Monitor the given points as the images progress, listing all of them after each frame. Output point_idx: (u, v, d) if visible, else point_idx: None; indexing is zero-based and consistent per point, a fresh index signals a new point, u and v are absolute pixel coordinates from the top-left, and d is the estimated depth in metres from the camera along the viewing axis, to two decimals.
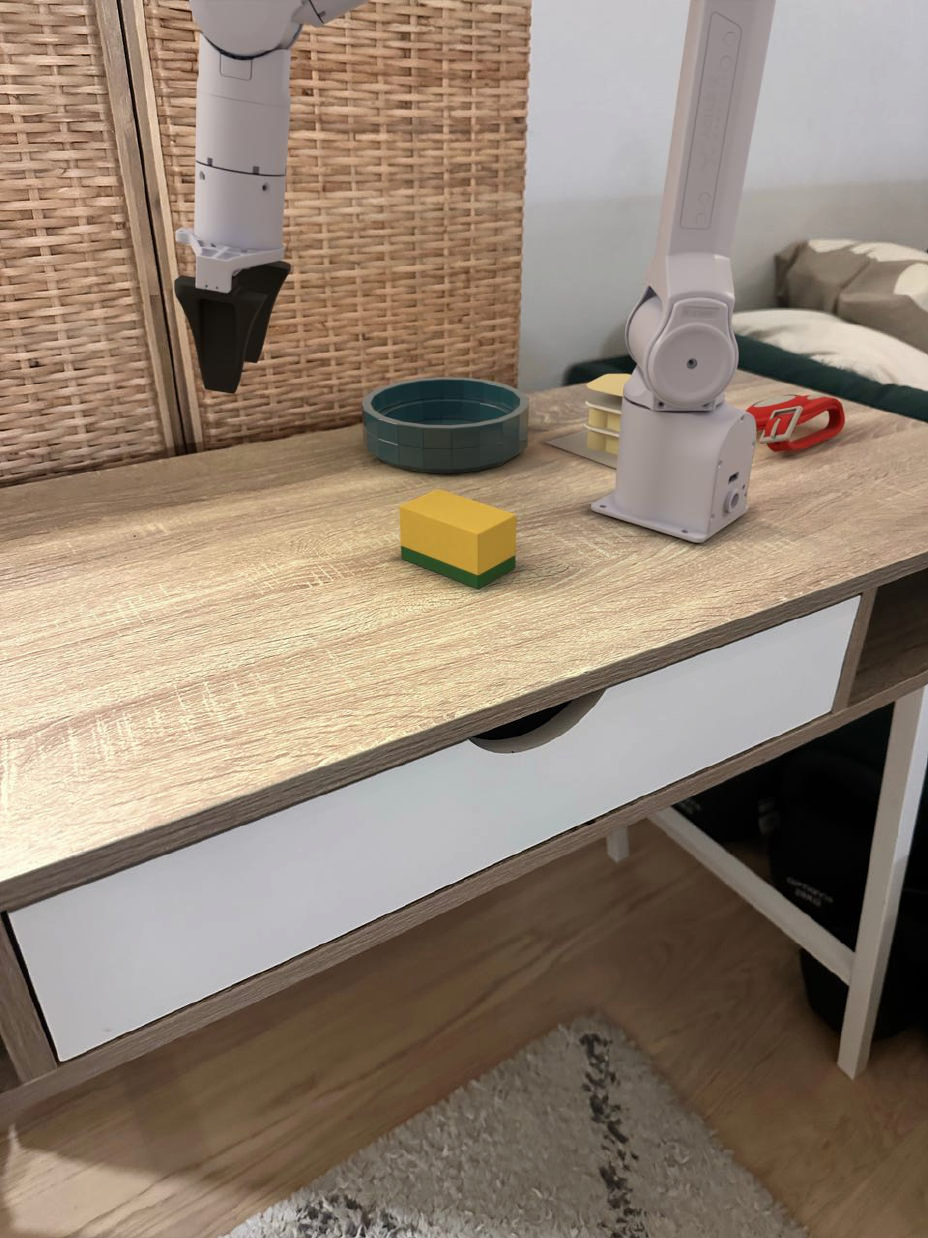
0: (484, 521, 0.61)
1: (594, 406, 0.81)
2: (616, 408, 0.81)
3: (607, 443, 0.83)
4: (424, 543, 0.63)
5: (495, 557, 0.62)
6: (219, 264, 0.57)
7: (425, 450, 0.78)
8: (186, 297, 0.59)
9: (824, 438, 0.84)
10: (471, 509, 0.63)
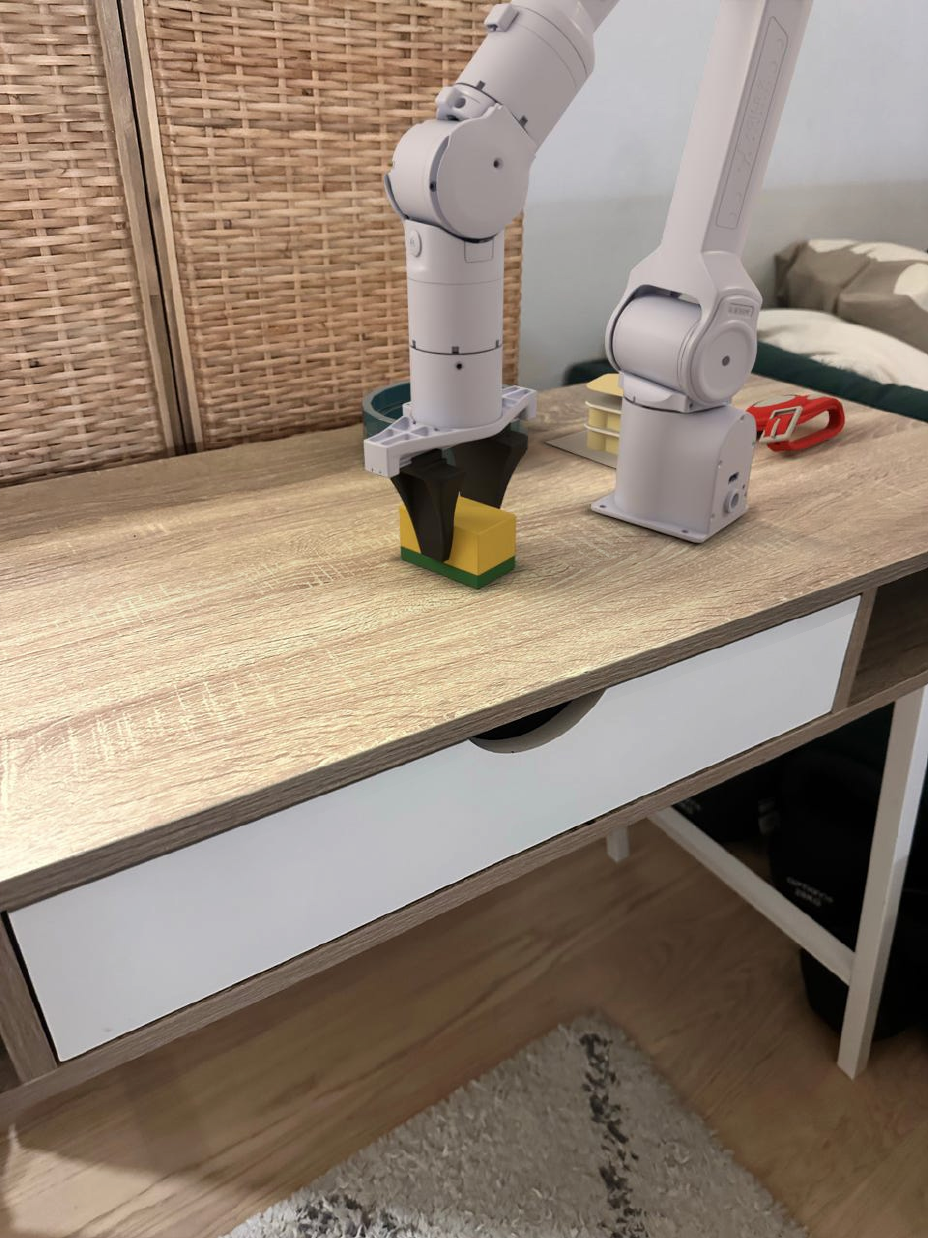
0: (484, 522, 0.61)
1: (594, 406, 0.81)
2: (616, 408, 0.81)
3: (607, 443, 0.83)
4: None
5: (495, 557, 0.62)
6: (380, 450, 0.55)
7: None
8: None
9: (824, 438, 0.84)
10: (471, 509, 0.63)
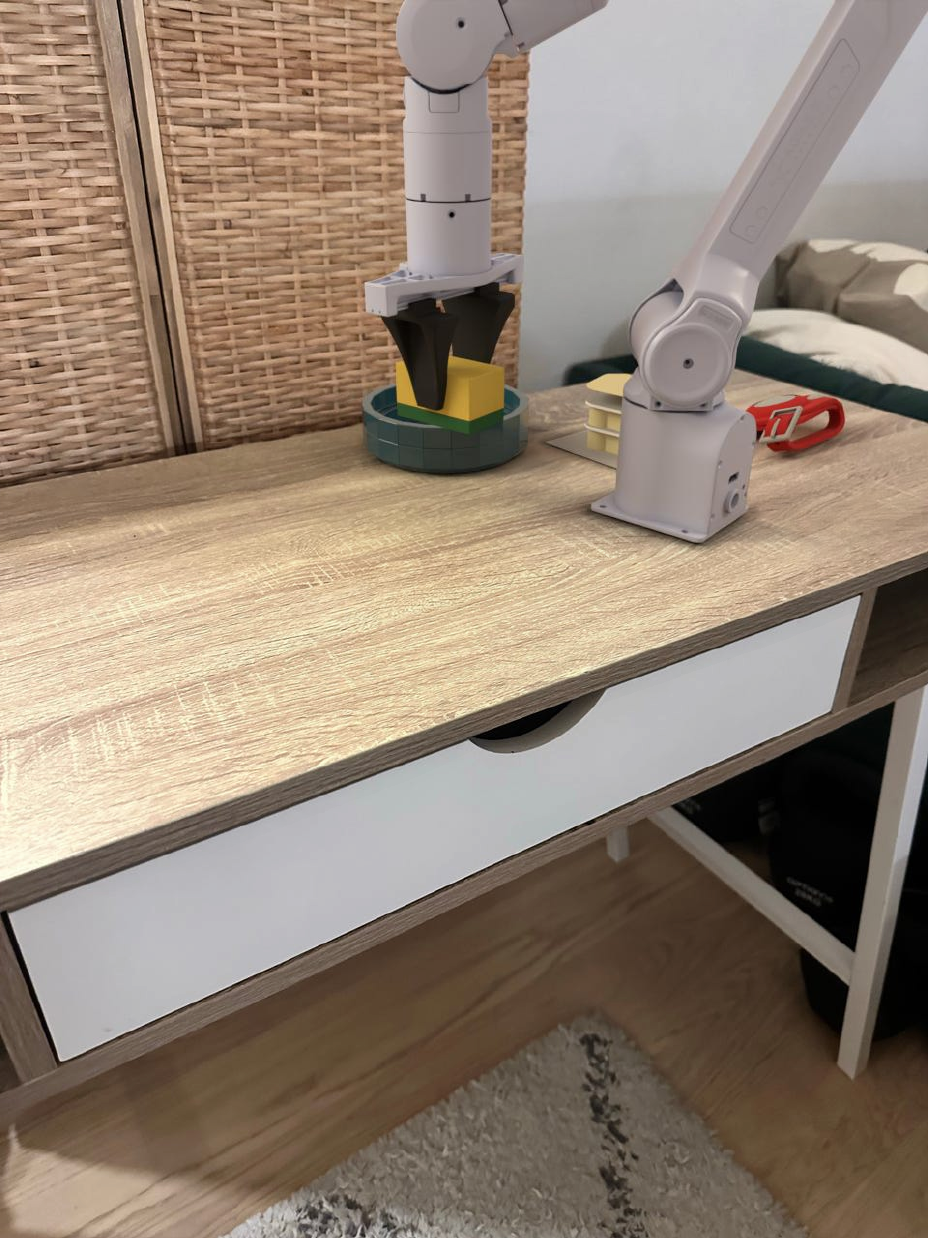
0: (475, 371, 0.66)
1: (594, 406, 0.81)
2: (616, 408, 0.81)
3: (607, 443, 0.83)
4: None
5: (485, 406, 0.67)
6: (379, 289, 0.60)
7: (425, 450, 0.78)
8: (386, 318, 0.64)
9: (824, 438, 0.84)
10: (462, 364, 0.68)
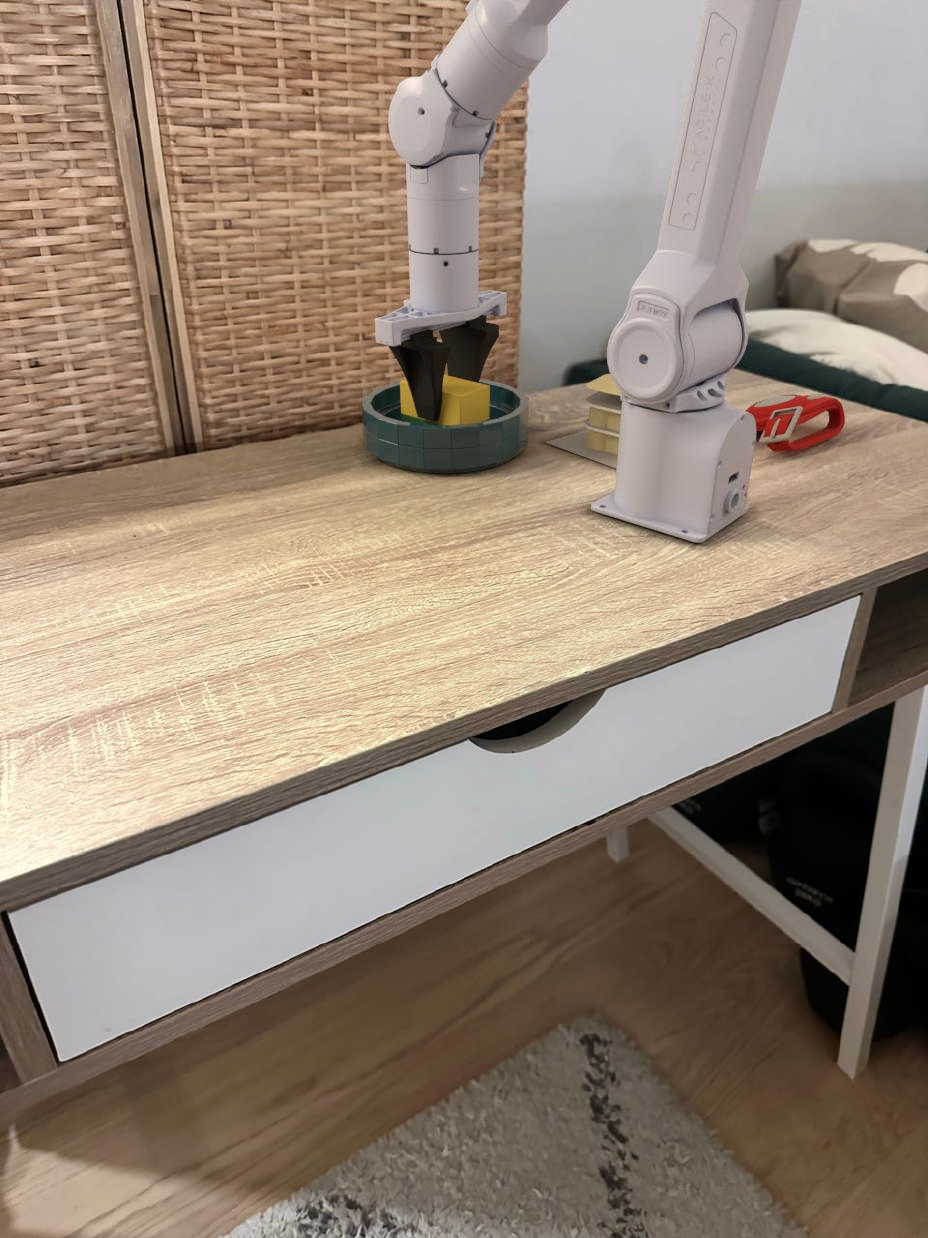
0: (465, 389, 0.80)
1: (594, 406, 0.81)
2: (616, 408, 0.81)
3: (607, 443, 0.83)
4: None
5: (473, 417, 0.81)
6: (387, 324, 0.74)
7: (425, 450, 0.78)
8: (392, 346, 0.78)
9: (824, 438, 0.84)
10: (455, 382, 0.82)
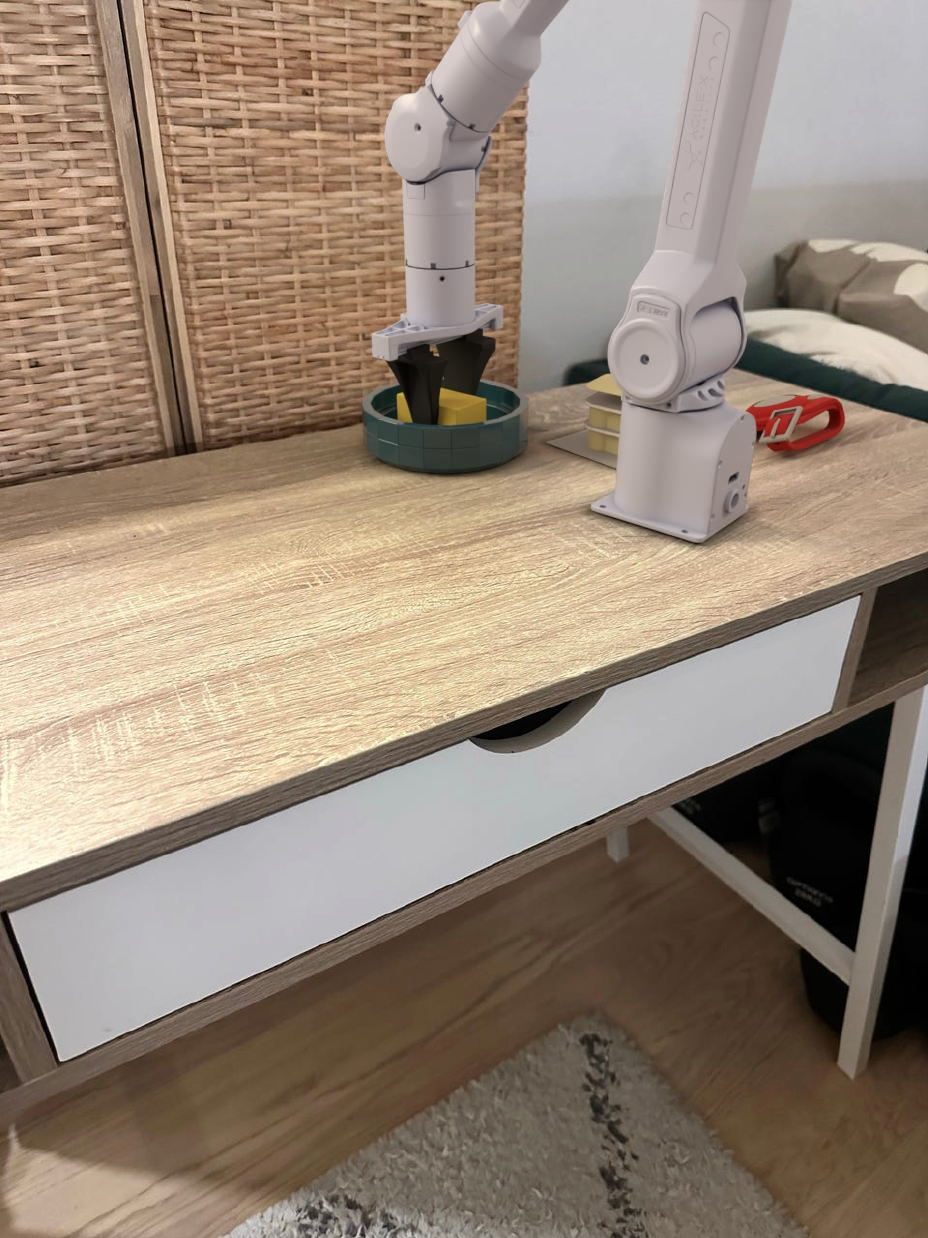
0: (461, 402, 0.81)
1: (594, 406, 0.81)
2: (616, 408, 0.80)
3: (607, 443, 0.83)
4: None
5: None
6: (383, 339, 0.74)
7: (425, 450, 0.78)
8: None
9: (824, 438, 0.84)
10: (452, 395, 0.82)
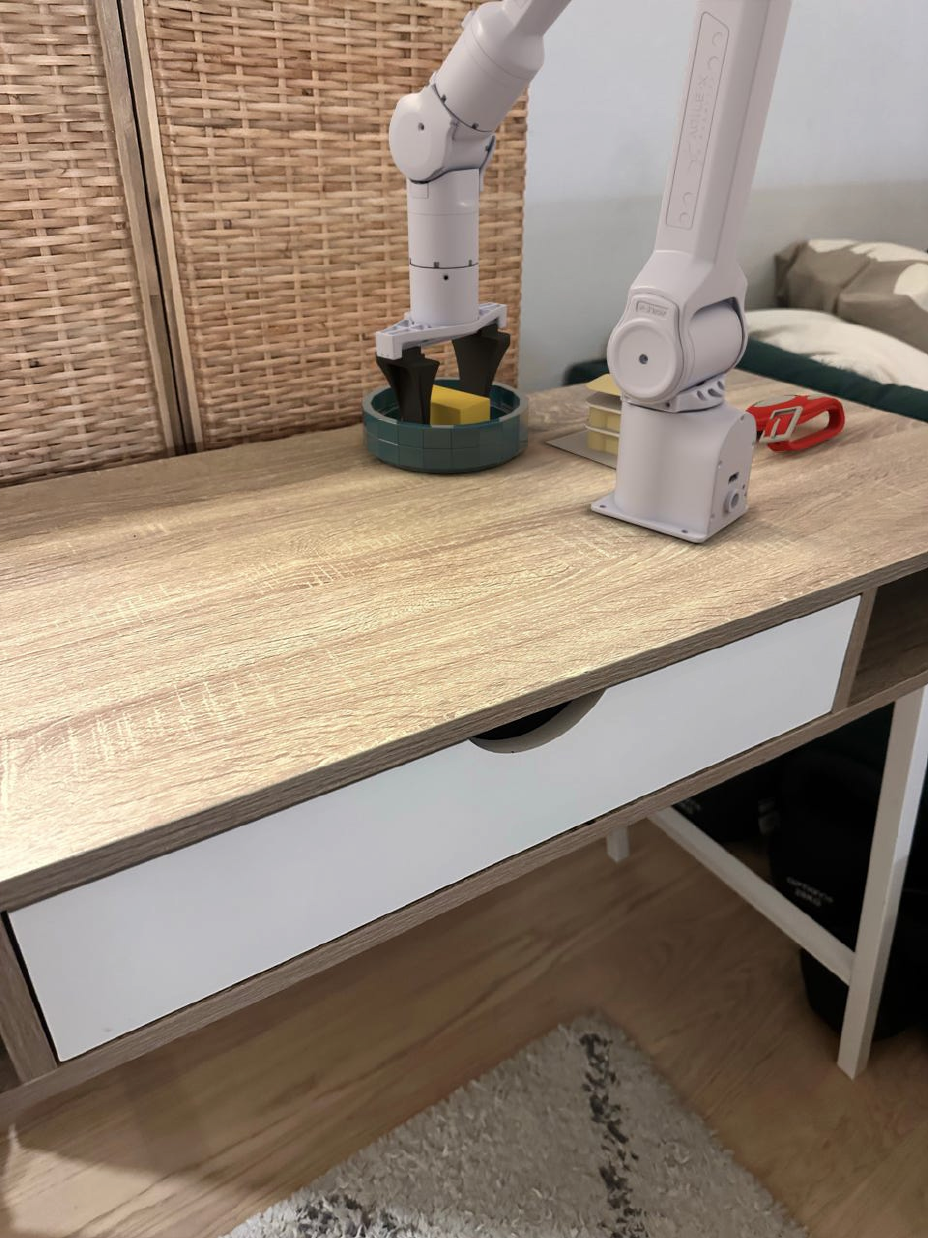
0: (465, 402, 0.81)
1: (594, 406, 0.81)
2: (616, 408, 0.81)
3: (607, 443, 0.83)
4: None
5: None
6: (387, 338, 0.74)
7: (425, 450, 0.78)
8: (380, 362, 0.78)
9: (824, 438, 0.84)
10: (456, 395, 0.83)
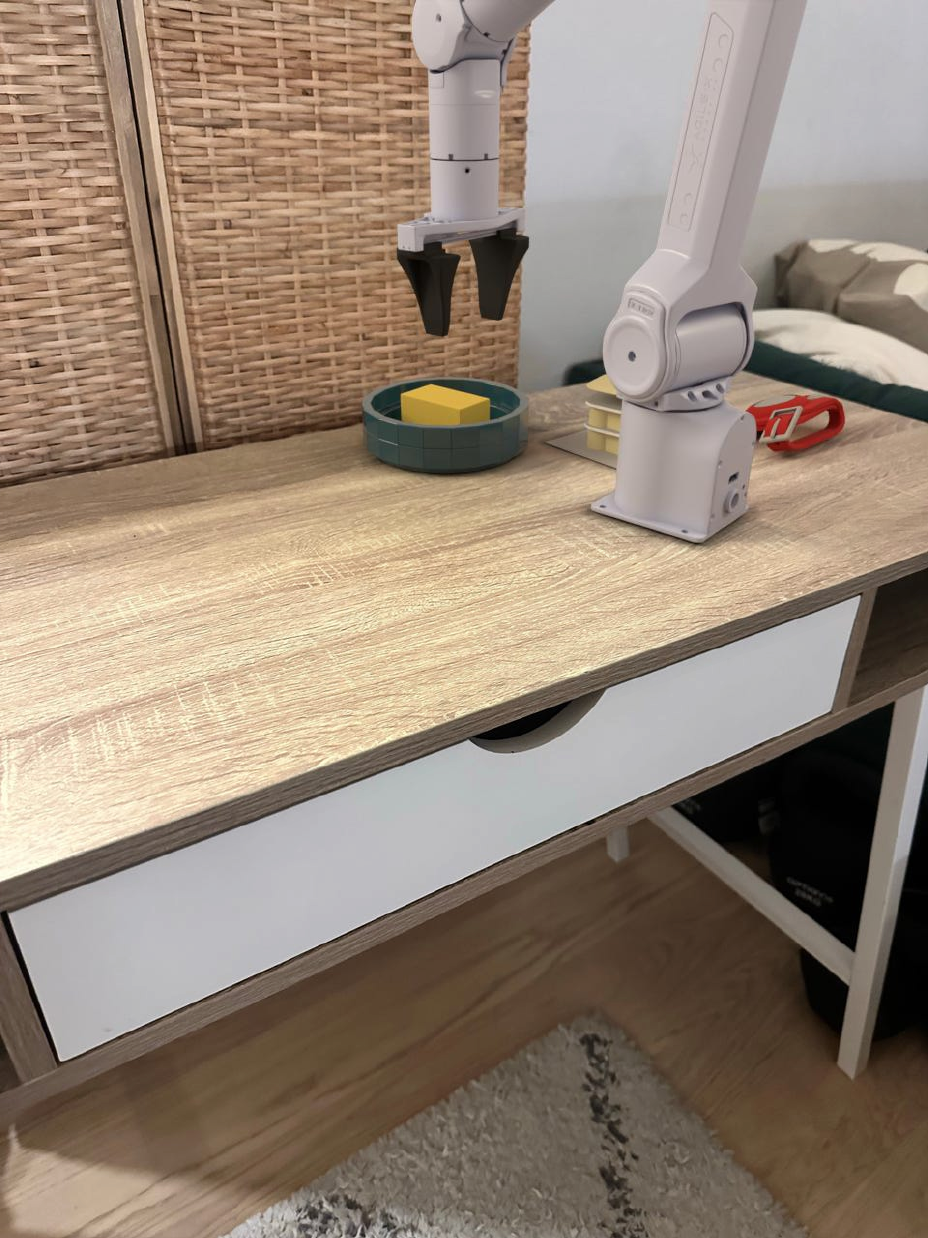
0: (465, 402, 0.81)
1: (594, 406, 0.81)
2: (616, 408, 0.81)
3: (607, 443, 0.83)
4: (420, 422, 0.83)
5: None
6: (409, 229, 0.75)
7: (425, 450, 0.78)
8: (401, 258, 0.78)
9: (824, 438, 0.84)
10: (456, 395, 0.83)
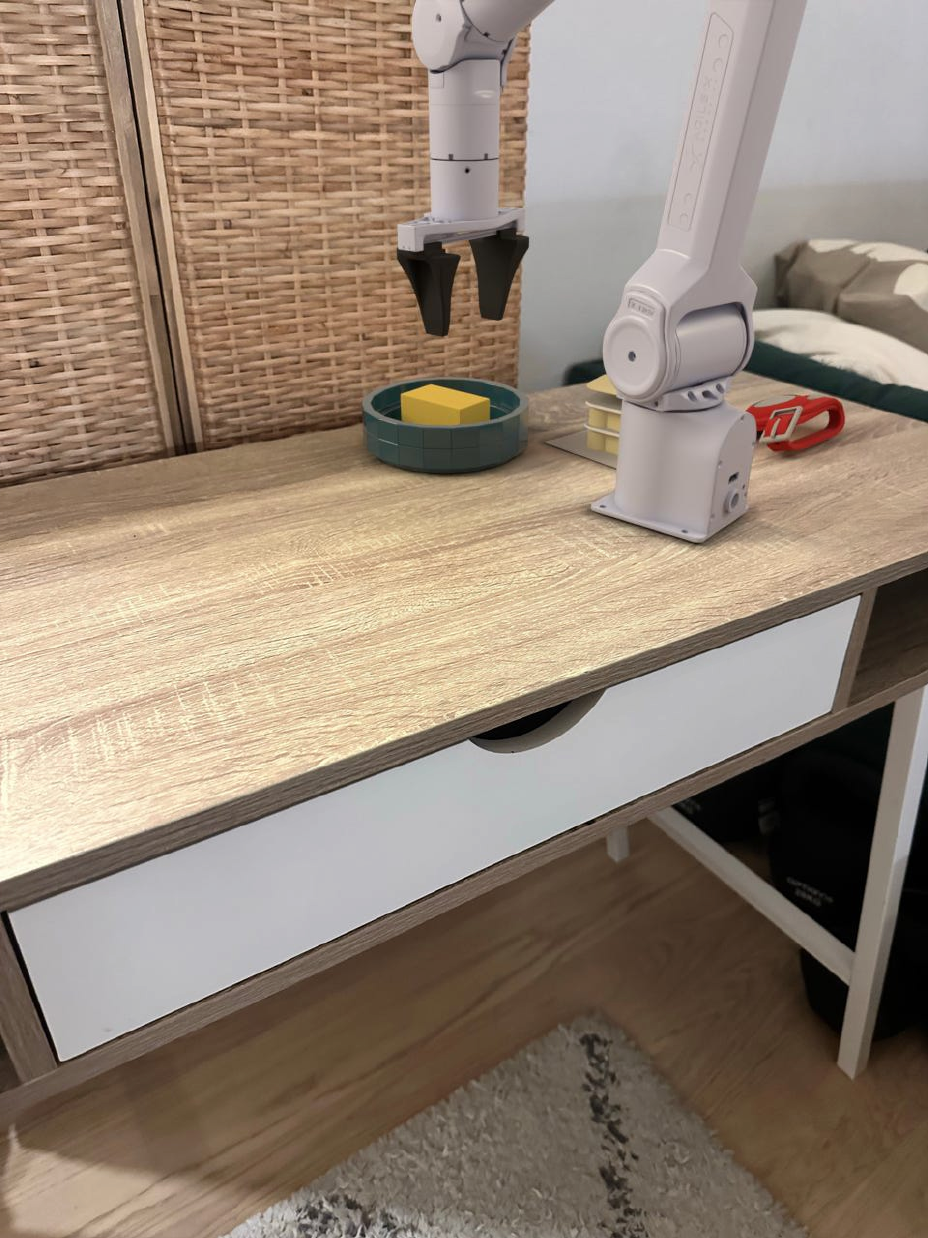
0: (465, 402, 0.81)
1: (594, 406, 0.81)
2: (616, 408, 0.81)
3: (607, 443, 0.83)
4: (420, 422, 0.83)
5: None
6: (409, 229, 0.75)
7: (425, 450, 0.78)
8: (401, 258, 0.78)
9: (824, 438, 0.84)
10: (456, 395, 0.83)
